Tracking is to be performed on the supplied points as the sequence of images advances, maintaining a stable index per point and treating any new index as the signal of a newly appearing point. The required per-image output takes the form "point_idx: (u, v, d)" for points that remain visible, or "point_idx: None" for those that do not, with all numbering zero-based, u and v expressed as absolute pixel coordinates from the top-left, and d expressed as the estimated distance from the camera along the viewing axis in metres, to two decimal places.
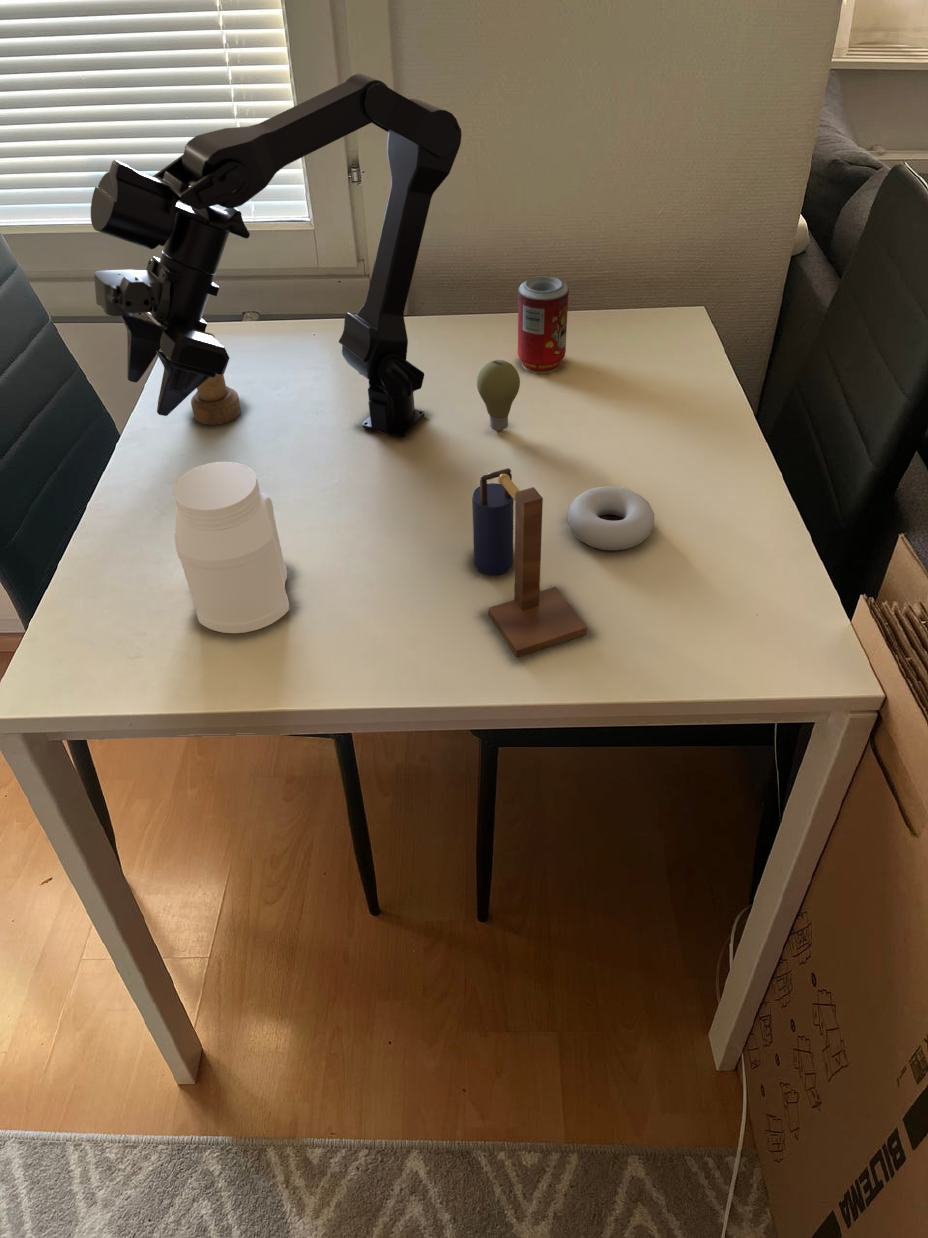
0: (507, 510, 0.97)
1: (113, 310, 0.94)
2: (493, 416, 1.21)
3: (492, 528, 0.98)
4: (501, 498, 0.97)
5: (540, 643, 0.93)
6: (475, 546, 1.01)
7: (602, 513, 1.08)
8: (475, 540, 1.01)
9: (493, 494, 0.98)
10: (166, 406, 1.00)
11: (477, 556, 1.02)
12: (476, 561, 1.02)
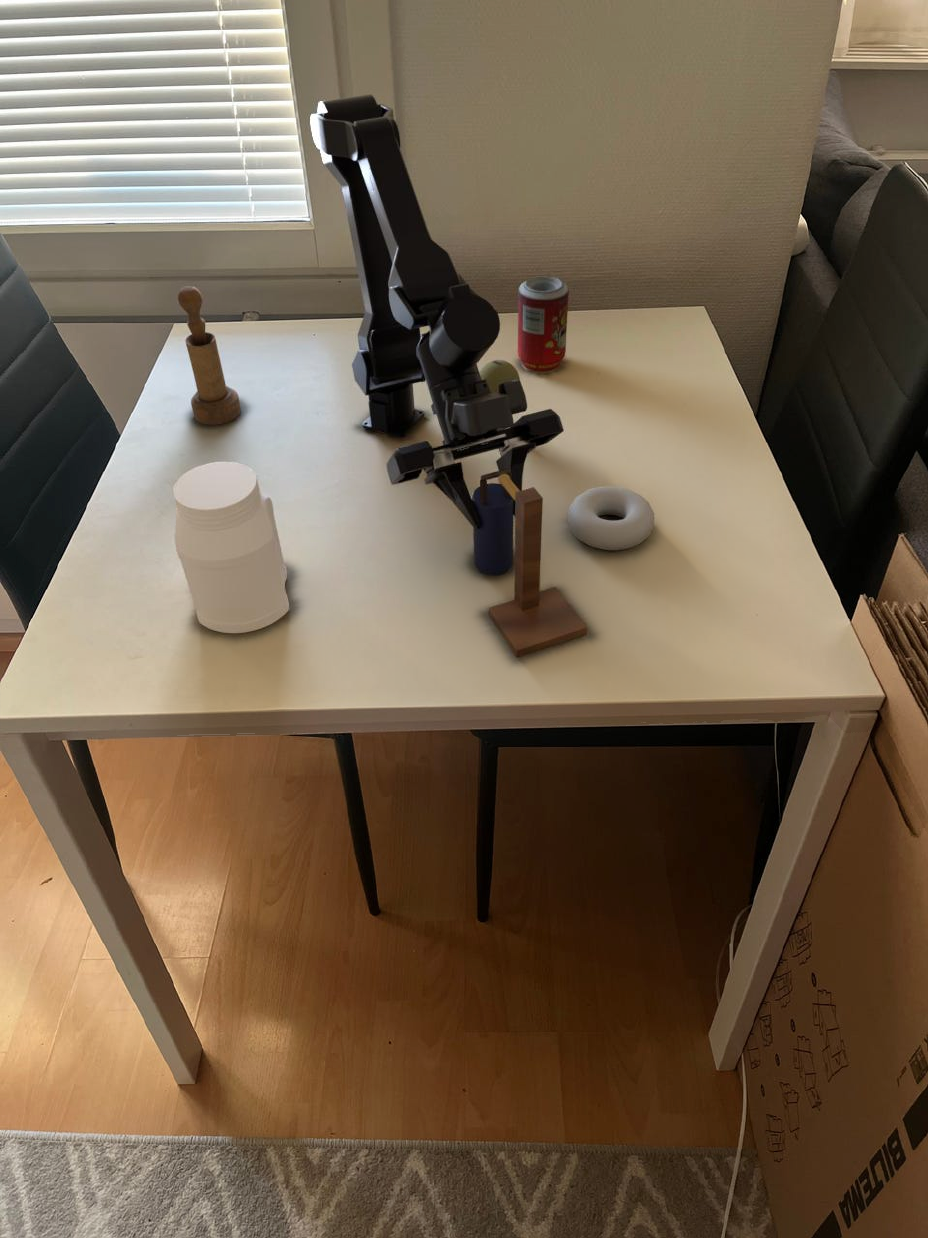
0: (507, 510, 0.97)
1: None
2: None
3: (492, 528, 0.98)
4: (501, 498, 0.97)
5: (540, 643, 0.93)
6: (475, 546, 1.01)
7: (602, 513, 1.08)
8: (475, 540, 1.01)
9: (493, 494, 0.98)
10: None
11: (477, 556, 1.02)
12: (477, 561, 1.02)
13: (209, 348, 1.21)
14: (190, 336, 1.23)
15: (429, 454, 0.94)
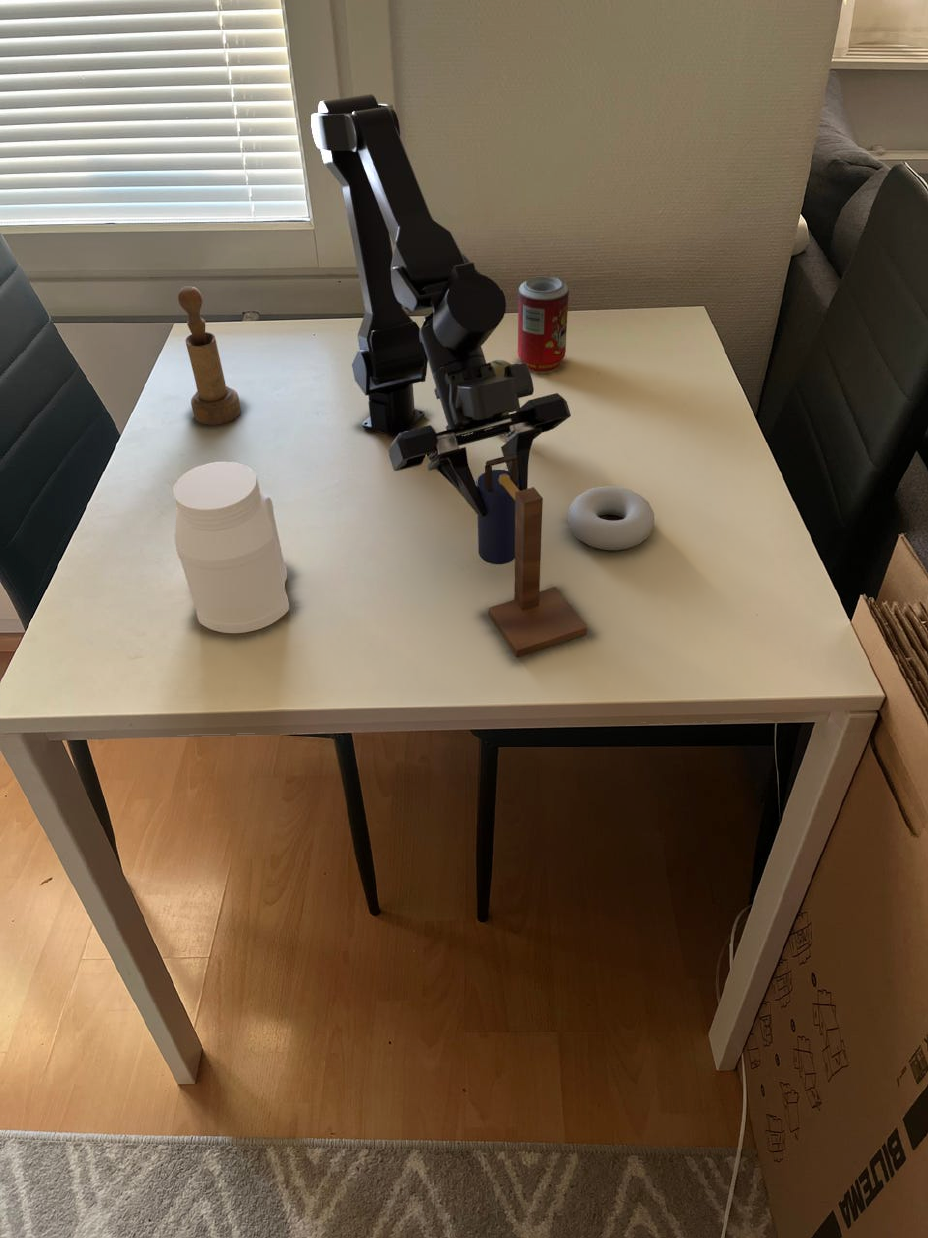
0: None
1: None
2: None
3: (497, 516, 0.95)
4: None
5: (540, 643, 0.93)
6: (479, 534, 0.99)
7: (602, 513, 1.08)
8: (480, 528, 0.98)
9: (498, 481, 0.95)
10: None
11: (482, 544, 0.99)
12: (481, 550, 1.00)
13: (209, 348, 1.21)
14: (190, 336, 1.23)
15: (432, 439, 0.91)
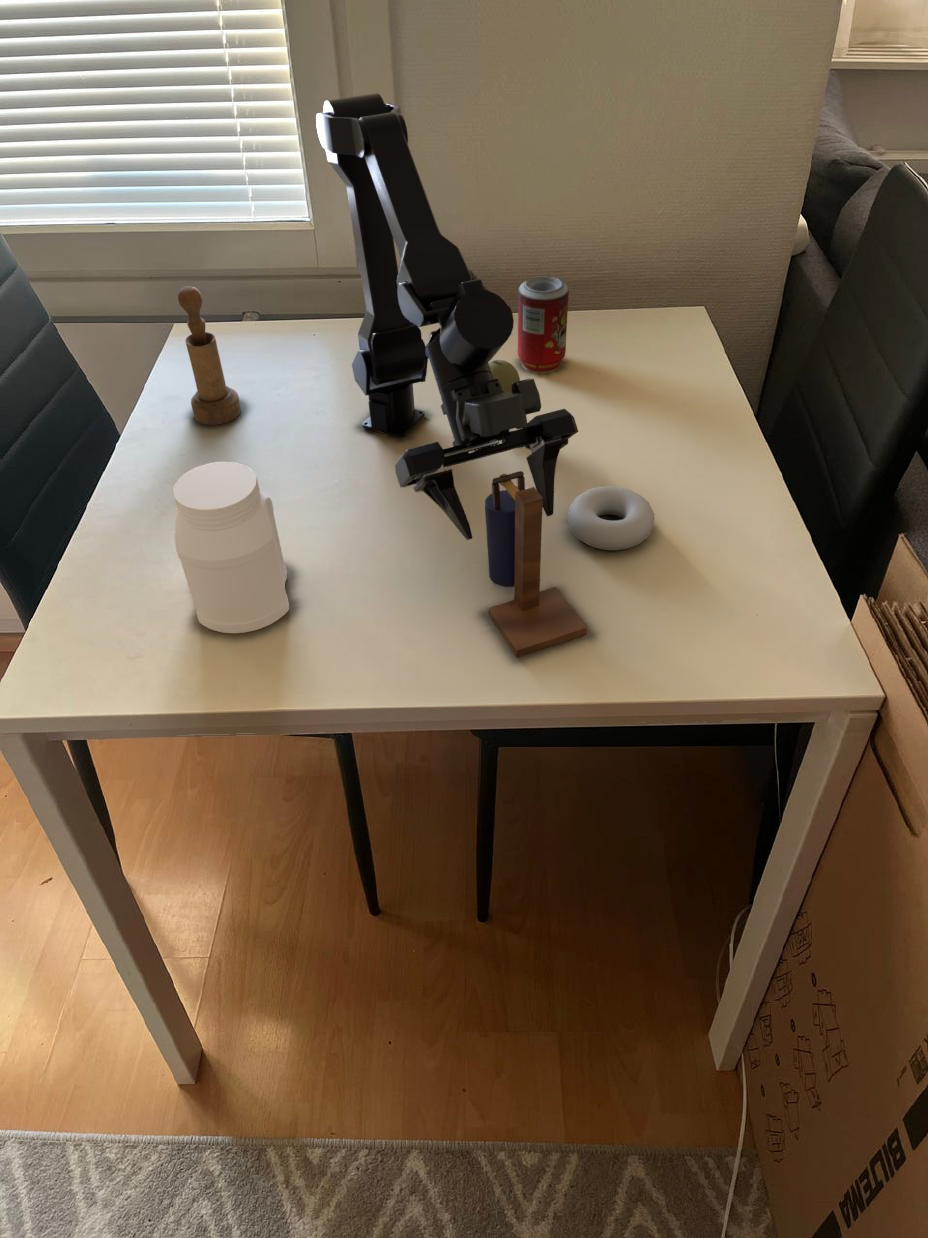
0: None
1: (526, 419, 0.89)
2: None
3: (506, 535, 0.94)
4: (514, 503, 0.94)
5: (540, 643, 0.93)
6: (489, 556, 0.98)
7: (602, 513, 1.08)
8: (489, 549, 0.97)
9: (506, 500, 0.94)
10: None
11: (492, 566, 0.98)
12: (492, 572, 0.99)
13: (209, 348, 1.21)
14: (190, 336, 1.23)
15: (439, 456, 0.91)
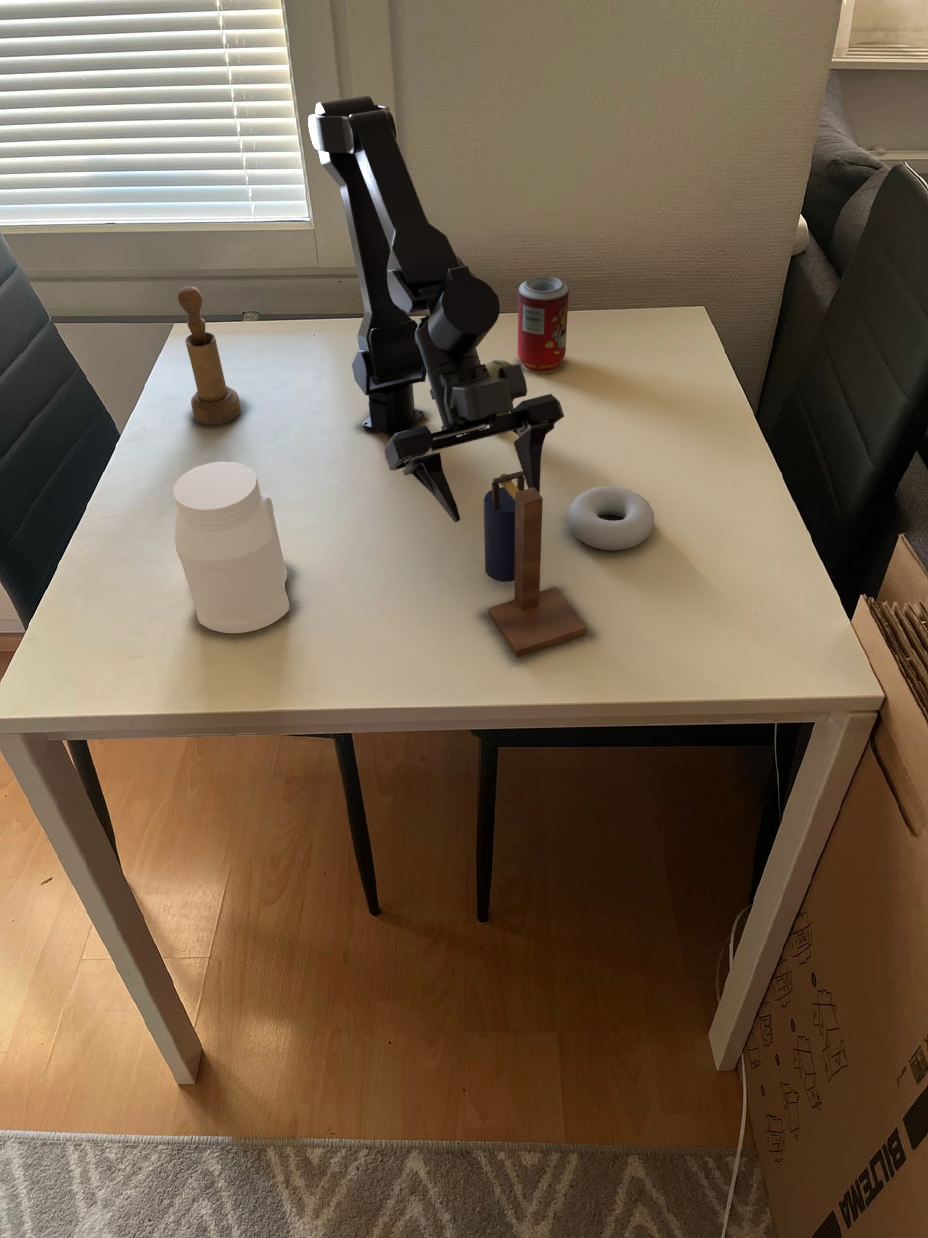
0: None
1: (512, 403, 0.91)
2: None
3: (504, 533, 0.95)
4: (514, 502, 0.94)
5: (540, 643, 0.93)
6: (486, 552, 0.98)
7: (602, 513, 1.08)
8: (487, 545, 0.97)
9: (505, 498, 0.95)
10: None
11: (489, 562, 0.99)
12: (488, 567, 0.99)
13: (209, 348, 1.21)
14: (190, 336, 1.23)
15: (428, 439, 0.93)
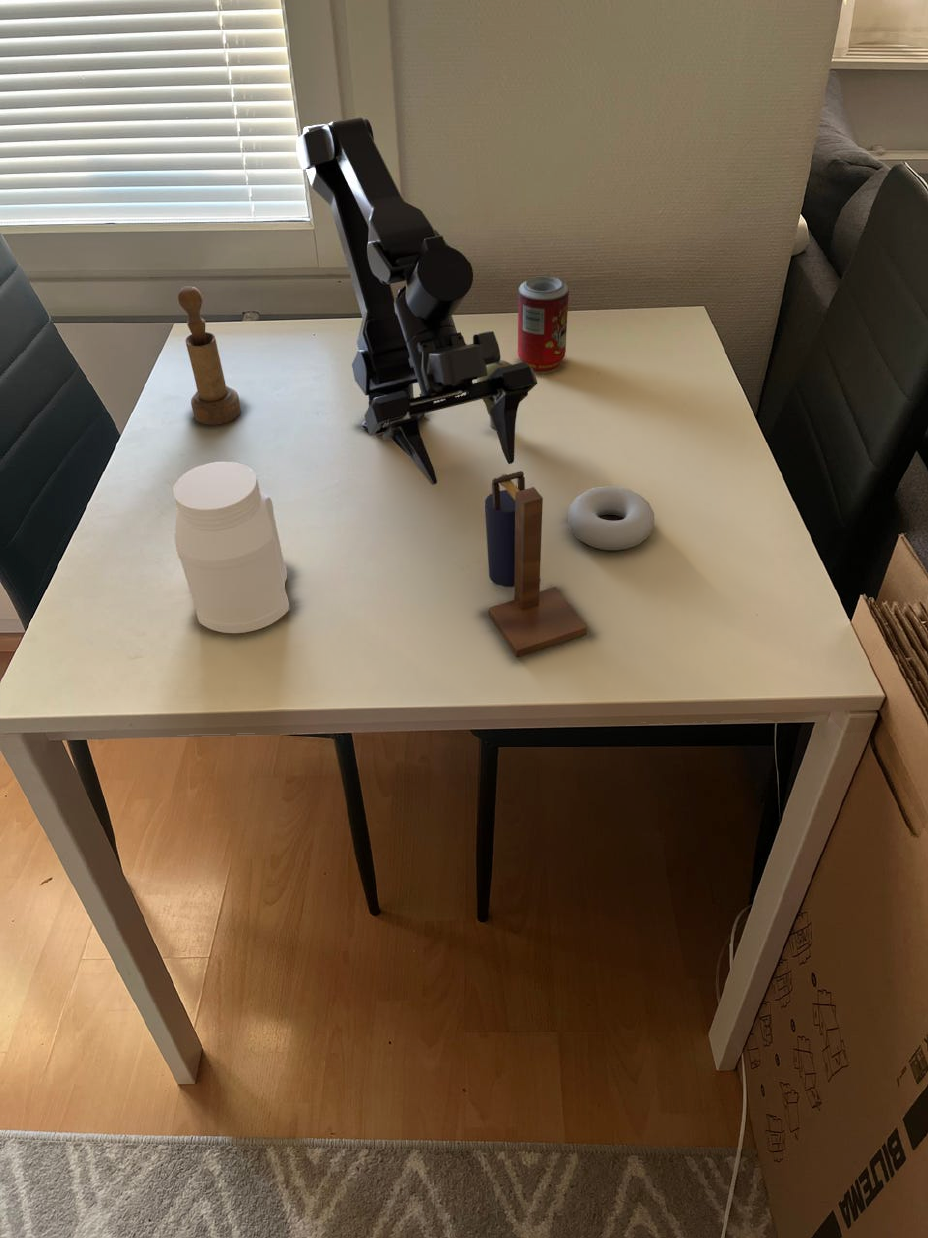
0: None
1: (486, 369, 0.95)
2: None
3: (506, 535, 0.94)
4: (514, 503, 0.94)
5: (540, 643, 0.93)
6: (489, 556, 0.98)
7: (602, 513, 1.08)
8: (489, 549, 0.97)
9: (506, 500, 0.94)
10: None
11: (492, 566, 0.98)
12: (491, 572, 0.99)
13: (209, 348, 1.21)
14: (190, 336, 1.23)
15: (405, 404, 0.97)
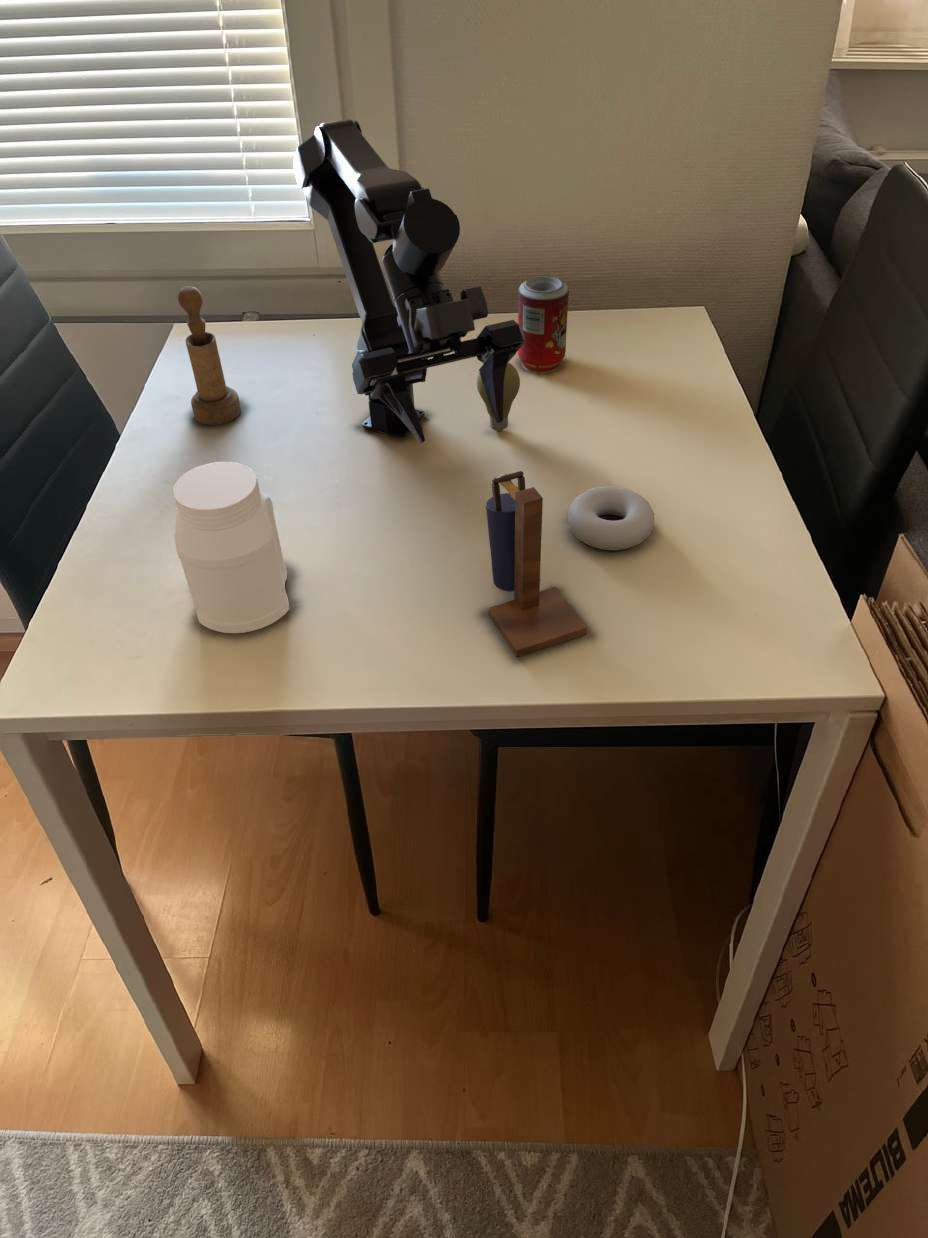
0: None
1: None
2: (493, 416, 1.21)
3: (508, 536, 0.94)
4: None
5: (540, 643, 0.93)
6: (493, 560, 0.97)
7: (602, 513, 1.08)
8: (492, 553, 0.96)
9: (507, 502, 0.94)
10: None
11: (496, 571, 0.97)
12: (495, 577, 0.98)
13: (209, 348, 1.21)
14: (190, 336, 1.23)
15: (393, 360, 0.96)
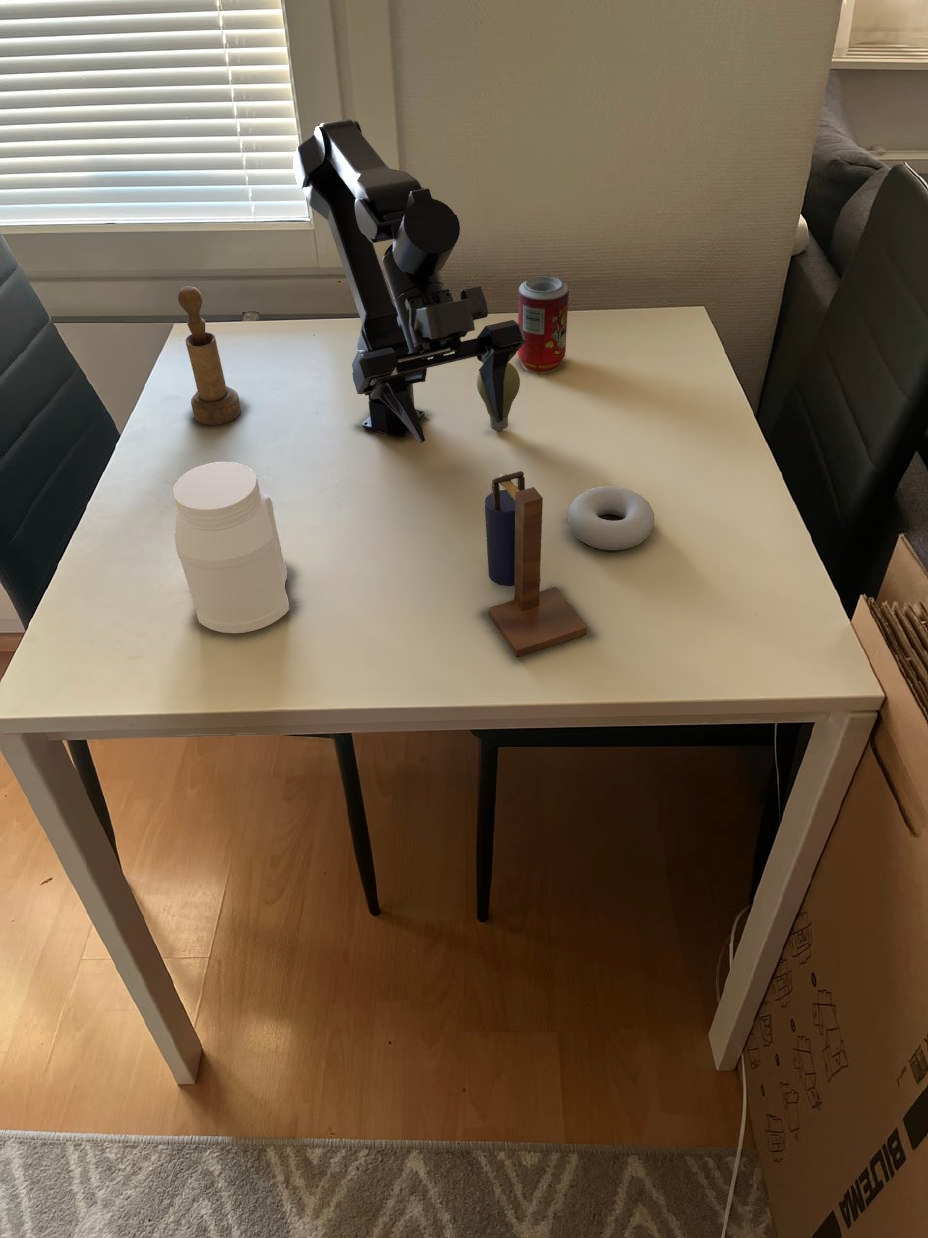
0: None
1: None
2: (493, 416, 1.21)
3: (506, 535, 0.95)
4: (514, 503, 0.94)
5: (540, 643, 0.93)
6: (489, 556, 0.98)
7: (602, 513, 1.08)
8: (489, 549, 0.97)
9: (506, 500, 0.95)
10: None
11: (492, 566, 0.98)
12: (491, 571, 0.99)
13: (209, 348, 1.21)
14: (190, 336, 1.23)
15: (393, 360, 0.96)
